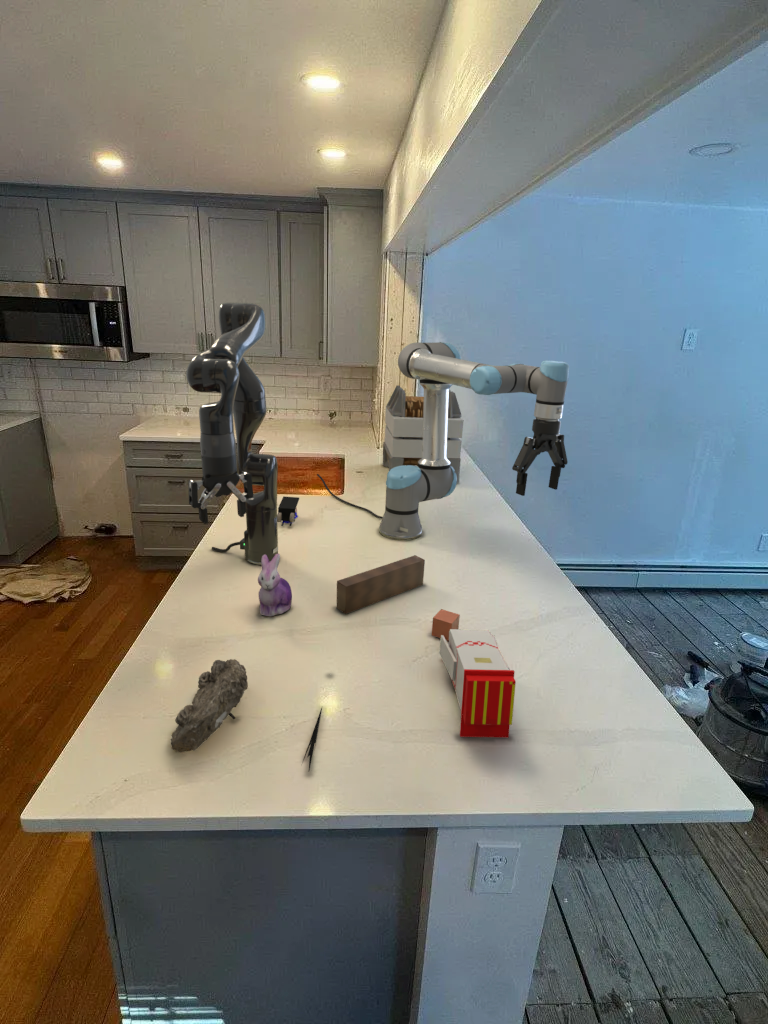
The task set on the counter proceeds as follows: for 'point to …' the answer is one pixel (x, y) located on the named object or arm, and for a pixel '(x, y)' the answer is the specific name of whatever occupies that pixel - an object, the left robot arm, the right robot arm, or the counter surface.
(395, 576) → the plank
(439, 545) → the counter surface
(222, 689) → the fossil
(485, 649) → the toy
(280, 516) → the figurine character
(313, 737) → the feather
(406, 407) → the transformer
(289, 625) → the counter surface
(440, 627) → the terracotta block
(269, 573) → the figurine
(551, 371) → the right robot arm
